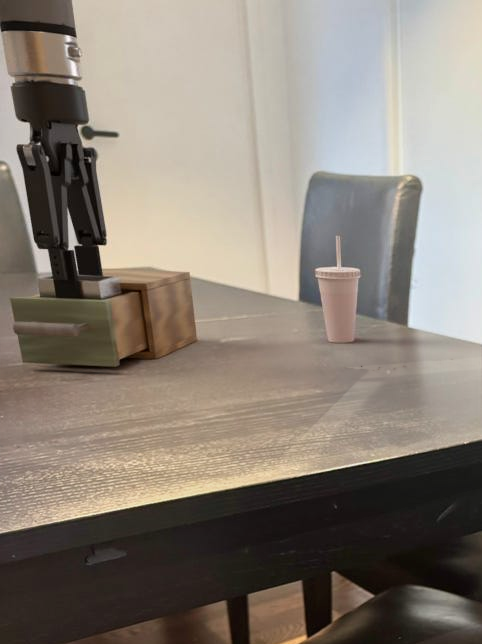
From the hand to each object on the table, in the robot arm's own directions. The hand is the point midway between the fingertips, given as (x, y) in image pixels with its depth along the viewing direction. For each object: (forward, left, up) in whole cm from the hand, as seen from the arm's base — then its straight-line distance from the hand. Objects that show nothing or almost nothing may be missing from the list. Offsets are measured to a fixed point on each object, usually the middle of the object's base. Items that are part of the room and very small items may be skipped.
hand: (83, 305), depth 110 cm
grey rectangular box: (0, 0, 0) cm, 0 cm away
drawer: (0, -1, -6) cm, 6 cm away
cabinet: (0, +12, -7) cm, 13 cm away
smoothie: (+26, +24, -7) cm, 36 cm away
